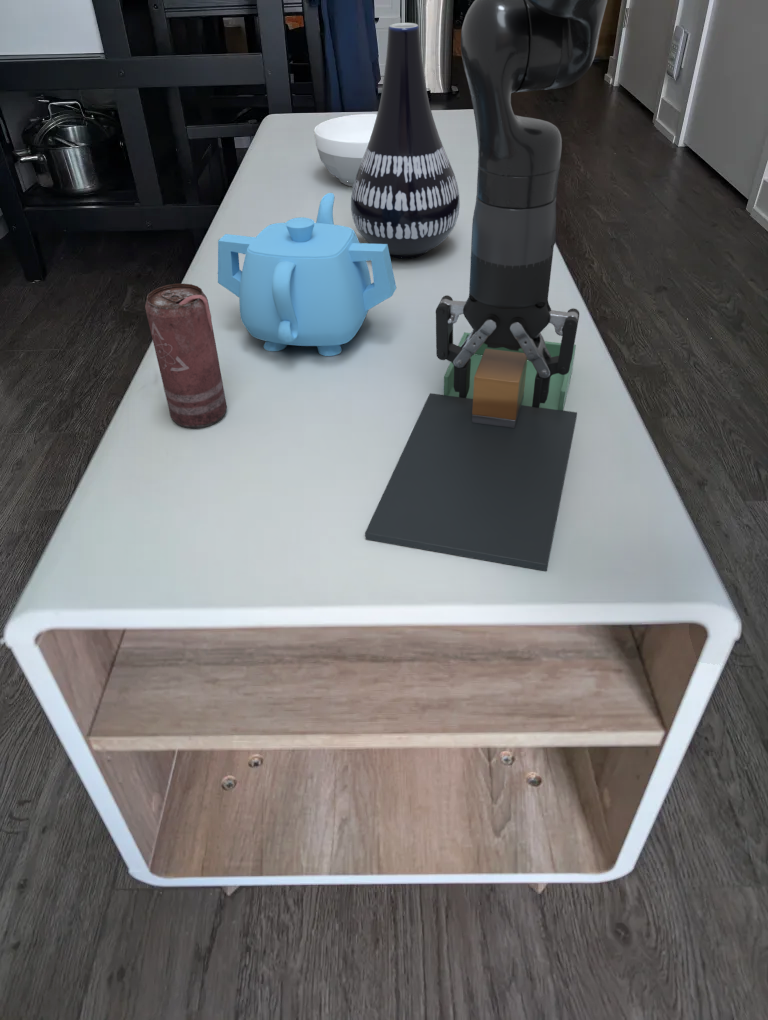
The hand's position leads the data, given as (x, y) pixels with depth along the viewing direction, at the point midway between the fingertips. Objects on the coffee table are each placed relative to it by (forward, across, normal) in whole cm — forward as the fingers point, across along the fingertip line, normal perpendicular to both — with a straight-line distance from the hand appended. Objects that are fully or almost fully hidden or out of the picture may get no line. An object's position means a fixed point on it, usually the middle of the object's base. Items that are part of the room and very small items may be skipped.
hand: (500, 398), depth 84 cm
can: (+2, -32, -8) cm, 32 cm away
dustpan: (+2, 0, +11) cm, 12 cm away
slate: (+2, 0, -10) cm, 11 cm away
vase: (+2, -22, +42) cm, 47 cm away
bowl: (+2, -37, +73) cm, 82 cm away
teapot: (+2, -26, +14) cm, 30 cm away
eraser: (+1, 0, 0) cm, 1 cm away
